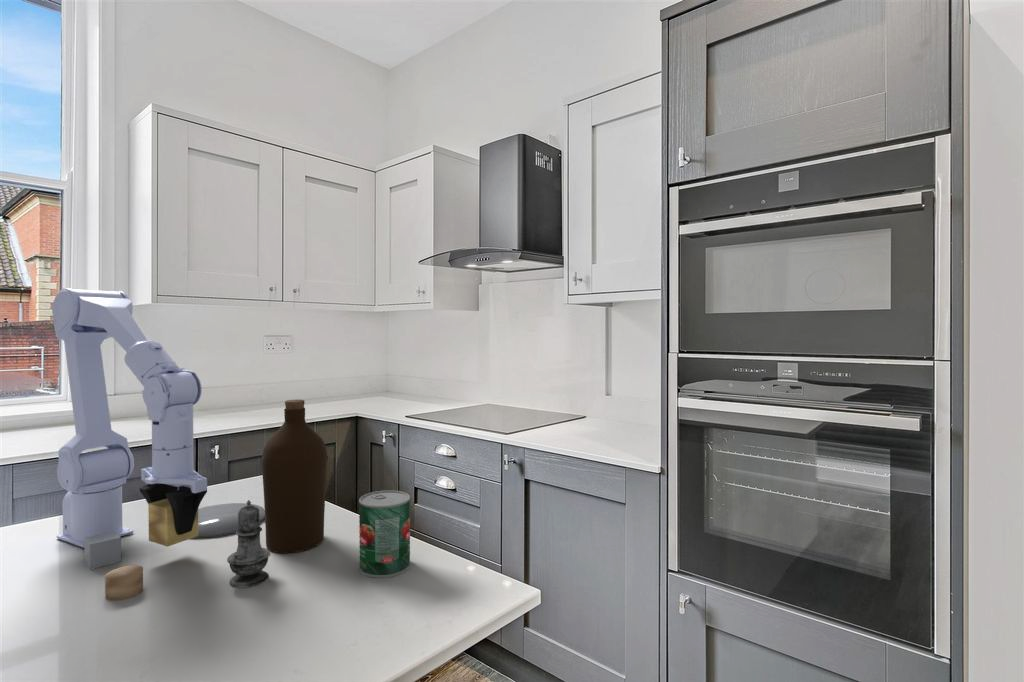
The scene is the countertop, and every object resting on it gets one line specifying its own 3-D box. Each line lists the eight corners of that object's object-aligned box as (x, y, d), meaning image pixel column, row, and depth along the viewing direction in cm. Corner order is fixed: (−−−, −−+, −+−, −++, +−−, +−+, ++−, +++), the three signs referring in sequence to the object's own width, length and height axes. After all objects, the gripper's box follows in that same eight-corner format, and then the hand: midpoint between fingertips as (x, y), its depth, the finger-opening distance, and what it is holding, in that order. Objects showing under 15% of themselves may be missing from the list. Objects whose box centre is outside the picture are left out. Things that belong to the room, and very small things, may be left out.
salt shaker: (253, 590, 78) (252, 507, 78) (217, 586, 80) (217, 504, 79) (278, 572, 84) (278, 495, 84) (245, 568, 85) (244, 492, 85)
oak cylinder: (98, 596, 77) (98, 575, 77) (132, 583, 81) (132, 563, 80) (116, 603, 75) (115, 582, 75) (149, 589, 79) (149, 569, 78)
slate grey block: (84, 562, 87) (84, 537, 87) (114, 554, 90) (114, 530, 90) (90, 569, 85) (89, 544, 85) (121, 561, 88) (120, 537, 88)
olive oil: (292, 560, 89) (291, 406, 88) (248, 547, 93) (247, 402, 93) (340, 537, 98) (340, 399, 97) (297, 527, 103) (297, 395, 102)
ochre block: (148, 540, 88) (148, 503, 87) (179, 530, 92) (179, 495, 92) (167, 546, 85) (167, 508, 85) (198, 535, 90) (198, 499, 90)
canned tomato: (420, 566, 87) (420, 497, 86) (377, 583, 81) (377, 509, 81) (391, 551, 92) (391, 487, 92) (349, 566, 86) (349, 497, 86)
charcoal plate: (151, 527, 102) (151, 522, 102) (230, 503, 116) (230, 498, 116) (205, 544, 95) (205, 538, 95) (282, 515, 109) (282, 511, 109)
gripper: (120, 446, 88) (121, 529, 88) (175, 457, 81) (175, 546, 82) (165, 438, 94) (166, 516, 95) (219, 447, 88) (219, 531, 88)
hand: (173, 529), depth 89 cm, fingers closed on ochre block, 5 cm apart
